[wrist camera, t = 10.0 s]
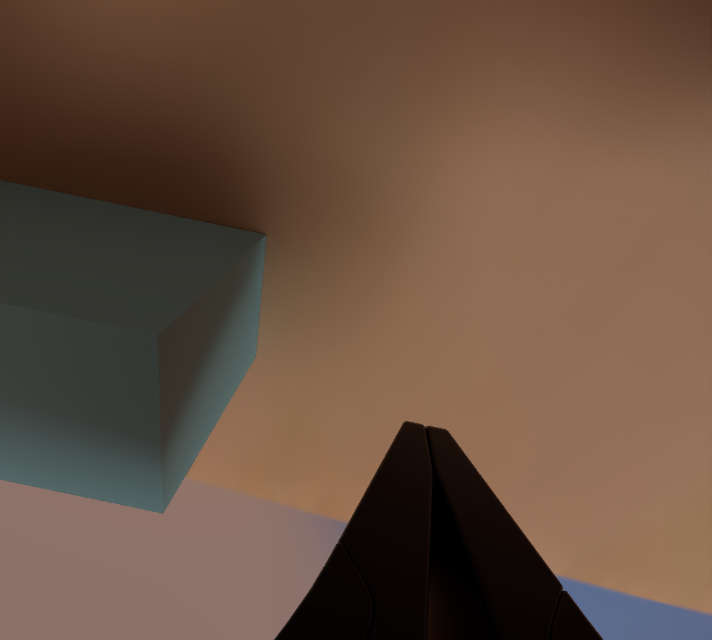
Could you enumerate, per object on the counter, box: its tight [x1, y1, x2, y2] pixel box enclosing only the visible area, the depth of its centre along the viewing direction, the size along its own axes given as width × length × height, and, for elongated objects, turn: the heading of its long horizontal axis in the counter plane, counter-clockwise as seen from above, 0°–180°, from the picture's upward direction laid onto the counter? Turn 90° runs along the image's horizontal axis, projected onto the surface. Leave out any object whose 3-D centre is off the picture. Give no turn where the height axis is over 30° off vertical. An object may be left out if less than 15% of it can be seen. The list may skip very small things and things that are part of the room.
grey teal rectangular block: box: [0, 180, 267, 513], centre depth 10 cm, size 8×4×6 cm, turn 80°
